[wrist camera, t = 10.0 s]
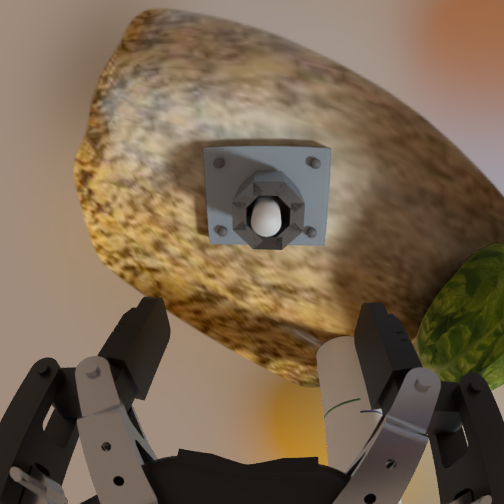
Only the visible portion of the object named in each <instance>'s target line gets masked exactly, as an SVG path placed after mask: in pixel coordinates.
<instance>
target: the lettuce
mask: <svg viewBox="0 0 504 504" xmlns="http://www.w3.org/2000/svg"><path fill="white" fill-rule="evenodd" d="M413 347H414V349H415V351H416V353H417V355H418V357H419V359H420V362H421V364H422V366H423V368H427V369H429V370H431V371H433V372H434V373H435V374H436V375H437V376H438V377H439V379H440V381H447V382H459V381H460V380H461V378H462V377H463V376H464V375H465V374H467V373H476V374H479V375H480V376H482V377H483V378H484V379H485V380H486V381H487V383H488V385H489V387H490V390H491V391H492V390H494V389H495V388H497V387H499V386H501V385H503V384H504V243H497V244H490V245H488V246H486V247H484V248H483V249H481V250H479V251H477V252H476V253H474V254H473V255H472V256H471V257H470V258H468V259H467V260H466V261H465V262H464V263H463V264H462V265H461V266H460V267H459V269H458V270H457V271H456V272H455V273H454V275H453V276H452V277H451V278H450V279H449V280H448V282H447V283H446V284H445V285H444V286H443V287H442V289H441V290H440V291H439V293H438V294H437V295H436V297H435V298H434V300H433V302H432V303H431V305H430V307H429V309H428V310H427V312H426V314H425V316H424V318H423V320H422V323H421V325H420V327H419V330H418V334H417V338H416V340H415V343H414V345H413Z"/></svg>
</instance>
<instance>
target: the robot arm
mask: <svg viewBox="0 0 504 504" xmlns="http://www.w3.org/2000/svg"><path fill="white" fill-rule="evenodd" d="M169 339H170V325H169V321H168V317H167V312H166V308H165V304H164V301H163V299H162V298H156V297H144V298H143V299H142V300H141V302H140V303H139V305H138V306H137V308H132V309H130V310H129V311H128V312H126V313H125V314H124V315H123V316H122V318H121V319H120V321H119V322H118V325H117V326H116V327H115V329H114V332H112V333H111V335H110V336H109V338H108V339H107V341H106V343H105V344H104V346H103V347H102V349H101V351H100V352H99V354H98V355H97V356H93V357H89V358H86V359H84V360H83V361H82V362H80V363H79V365H78V366H77V367H76V368H60V366H59V365H58V363H57V361H56V360H55V359H53V358H43V359H41V360H39V361H37V362H36V363H35V364H34V365H33V366H32V368H31V370H30V371H29V373H28V374H27V376H26V378H25V379H24V381H23V382H22V384H21V386H20V387H19V389H18V391H17V393H16V394H15V396H14V398H13V400H12V401H11V403H10V405H9V407H8V409H7V410H6V412H5V414H4V416H3V418H2V420H1V422H0V504H68V500H67V498H66V497H65V495H64V491H63V489H62V487H61V486H62V483H63V480H64V477H65V474H66V471H67V468H68V465H69V462H70V460H71V457H72V454H73V451H74V449H75V446H76V443H77V440H78V438H79V435H80V439H81V444H82V448H83V451H84V455H85V459H86V462H87V465H88V469H89V472H90V475H91V478H92V481H93V484H94V487H95V490H96V492H97V495H95V496H93V497H92V498H90V499H88V500H86V501H84V502H82V503H80V504H398V502H399V501H400V499H401V497H402V495H403V494H404V492H405V490H406V488H407V486H408V484H409V482H410V480H411V478H412V476H413V474H414V472H415V470H416V468H417V466H418V464H419V461H420V459H421V457H422V455H423V452H424V450H425V447H426V445H427V442H428V438H429V440H430V444H431V449H432V454H433V459H434V464H435V469H436V476H437V481H438V488H439V495H440V503H441V504H504V422H503V419H502V416H501V413H500V411H499V408H498V406H497V404H496V401H495V399H494V397H493V394H492V392H491V390H490V387H489V385H488V383H487V381H486V380H485V379H484V378H483V377H482V376H480V375H479V374H476V373H467V374H465V375H464V376H463V377H462V378H461V380H460V381H459V382H447V381H440V379H439V377H438V376H437V375H436V374H435V373H434V372H433V371H431V370H429V369H427V368H423V366H422V364H421V362H420V359H419V357H418V355H417V353H416V351H415V349H414V347H413V344H412V342H411V341H410V338H409V336H408V334H407V333H406V330H405V328H404V326H403V324H402V322H401V321H400V320H399V319H398V318H396V317H395V316H394V315H393V314H388V313H387V311H386V309H385V307H384V305H383V304H382V303H381V302H377V303H363V305H362V307H361V311H360V315H359V318H358V322H357V326H356V330H355V335H354V344H355V348H356V352H357V355H358V359H359V363H360V366H361V370H362V374H363V378H364V382H365V385H366V389H367V393H368V398H369V402H370V406H371V410H375V409H381V410H382V414H383V415H382V416H381V418H380V419H379V421H378V423H377V425H376V427H375V428H374V430H373V432H372V433H371V435H370V437H369V439H368V440H367V442H366V443H365V445H364V447H363V448H362V450H361V451H360V453H359V454H358V456H357V457H356V459H355V460H354V461H353V463H352V464H351V465H350V467H349V468H348V469H347V471H346V472H345V473H344V472H342V471H340V470H338V469H335V468H332V467H329V466H325V465H320V464H318V457H306V458H282V459H277V460H272V461H268V462H262V463H256V464H249V465H247V464H242V463H238V462H235V461H232V460H229V459H226V458H222V457H220V456H217V455H214V454H210V453H202V452H195V451H189V450H184V449H179V452H178V455H177V456H171V457H165V458H161V459H157V457H156V455H155V453H154V452H153V450H152V449H151V447H150V445H149V443H148V441H147V439H146V437H145V434H144V432H143V430H142V427H141V425H140V423H139V420H138V418H137V415H136V412H135V410H134V407H133V405H132V403H133V401H134V398H136V399H141V400H145V398H146V395H147V393H148V390H149V388H150V385H151V383H152V380H153V378H154V375H155V373H156V371H157V368H158V366H159V363H160V361H161V358H162V356H163V353H164V351H165V349H166V346H167V344H168V342H169ZM51 405H52V406H53V407H54V408H55V409H54V411H53V413H52V415H51V417H50V419H49V422H48V424H47V426H46V428H45V430H44V431H43V421H44V419H45V417H46V415H47V413H48V411H49V409H50V406H51ZM462 425H463V427H464V431H465V434H466V437H467V441H468V446H467V443H466V439H465V436H464V432H463V429H462ZM426 434H428V435H426Z"/></svg>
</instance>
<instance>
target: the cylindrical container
mask: <svg viewBox="0 0 504 504" xmlns="http://www.w3.org/2000/svg"><path fill="white" fill-rule="evenodd" d="M316 359H317V366H318V373H319V381H320V388H321V396H322V405H323V413H324V422H325V432H326V442H327V453H328V464H329V467H332V468H335V469H338V470H340V471H342V472H344V473H345V472H346V471H347V469H348V468H349V467H350V465H351V464H352V463H353V461H354V460H355V459H356V457H357V456H358V454H359V453H360V451H361V450H362V448H363V447H364V445H365V443H366V442H367V440H368V439H369V437H370V435H371V433H372V432H373V430H374V428H375V427H376V425H377V423H378V421H379V419H380V418H381V416H382V415H383V414H382V410H381V409H375V410H371V406H370V402H369V398H368V393H367V389H366V385H365V382H364V378H363V374H362V370H361V366H360V363H359V359H358V355H357V352H356V348H355V344H354V337H350V336H342V337H337V338H333V339H331V340H329V341H327V342H326V343H324V344H323V345H322V346H321V347H320V348H319V350H318V351H317V354H316ZM398 504H401V499H400V501H399V502H398Z"/></svg>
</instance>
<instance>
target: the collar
mask: <svg viewBox="0 0 504 504" xmlns="http://www.w3.org/2000/svg"><path fill="white" fill-rule="evenodd" d="M259 195H260V196H279V197H280V199H281V200H282V201H283V202H284V203H285V204H286V208H285V209H284V210H283V211H282V212H280V214H281V227H280V229H279V231H278V232H277V233H276V234H274V235H272V236H269V237H264V236H260V235H258V234H257V233H255V231H254V230H253V229H252V226H251V219H252V214H253V208H252V207H251V203H252V202H253V201H254V200H255V199H256V198H257V197H258V196H259ZM304 213H305V202H304V200H303V197H302V195H301V193H300V190H299V188H298V187H297V186H296V185H295V184H294V183H293V182H292V181H291V180H290V179H289V178H288V177H287V176H286V175H285V174H284V173H283V172H282V171H266V170H256V171H255V172H254V173H253V174H252V175H251V176H250V177H249V178H248V179H247V180H246V181H245V182H244V183H243V184H242V185H241V186H240V187H239V188H238V190H237V192H236V194H235V196H234V198H233V201H232V224H233V231H234V232H235V233H236V234H237V235H239V236H240V237H241V238H242V239H243V240H244V241H245V242H246V243H247V244H248V245H249V246H251V247H252V248H253V249H271V250H282V249H283V248H285V247H286V246H287V245H288V244H289V243H290V242H292V241H293V240H294V239H295V238H296V237H297V236H299V235H300V234H301V233H302V232H303V228H304Z"/></svg>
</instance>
